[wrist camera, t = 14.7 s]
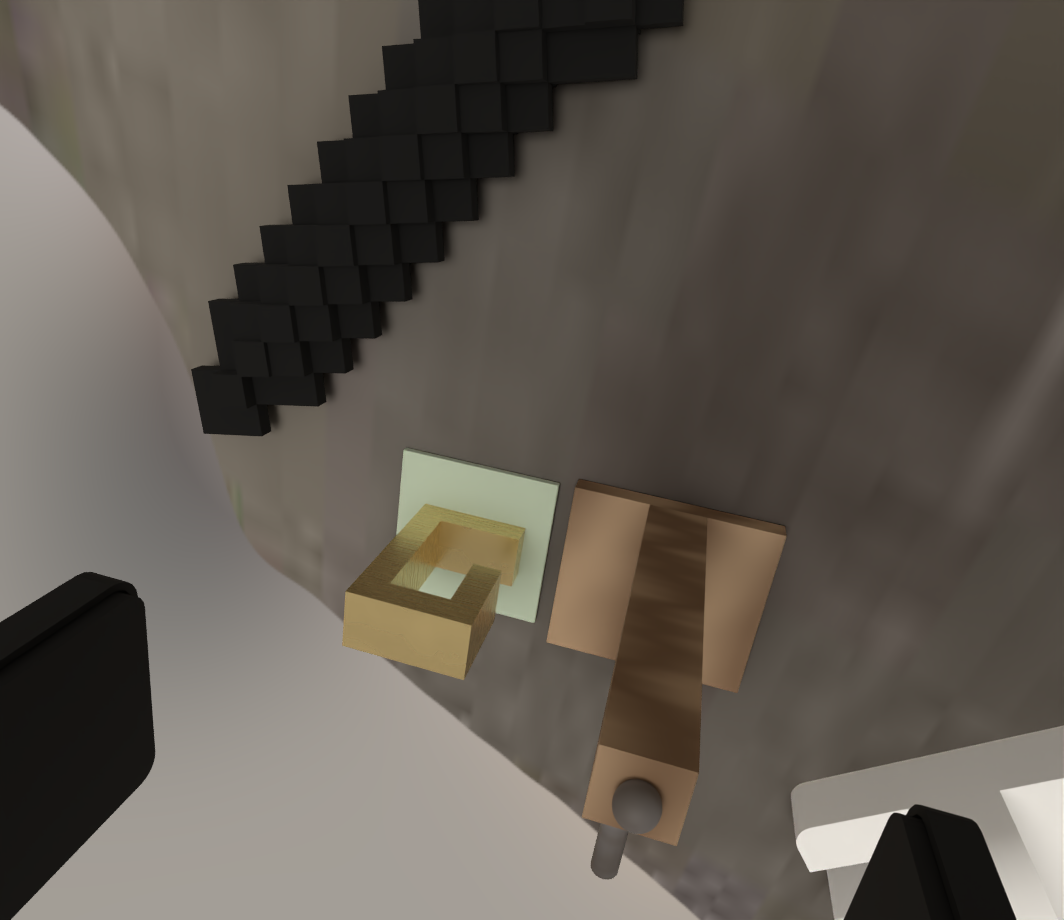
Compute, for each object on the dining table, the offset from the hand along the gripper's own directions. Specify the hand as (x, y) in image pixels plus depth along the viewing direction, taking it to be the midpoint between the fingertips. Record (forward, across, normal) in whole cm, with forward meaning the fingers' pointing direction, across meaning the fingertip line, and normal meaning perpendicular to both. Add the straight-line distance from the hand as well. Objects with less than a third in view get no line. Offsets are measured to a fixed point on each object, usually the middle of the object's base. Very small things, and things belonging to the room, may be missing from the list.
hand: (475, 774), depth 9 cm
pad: (+30, +8, +14) cm, 34 cm away
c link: (+30, +8, +14) cm, 34 cm away
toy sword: (+31, +12, -7) cm, 34 cm away
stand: (+30, -3, +14) cm, 33 cm away
